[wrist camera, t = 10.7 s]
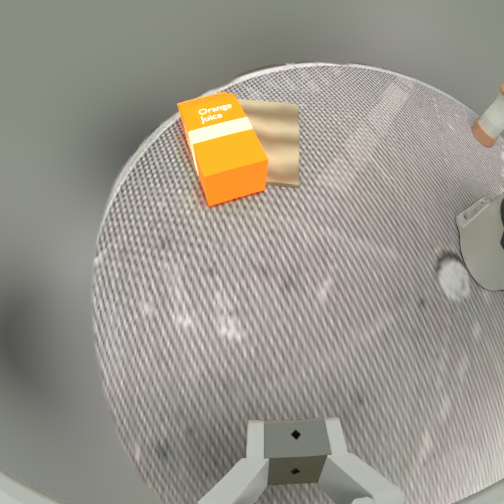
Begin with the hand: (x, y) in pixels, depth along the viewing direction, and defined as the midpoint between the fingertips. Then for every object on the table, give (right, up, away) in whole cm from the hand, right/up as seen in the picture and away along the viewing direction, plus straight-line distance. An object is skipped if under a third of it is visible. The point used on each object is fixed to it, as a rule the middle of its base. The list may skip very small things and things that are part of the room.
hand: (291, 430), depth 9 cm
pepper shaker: (+59, +36, +49) cm, 84 cm away
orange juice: (-3, +15, +32) cm, 36 cm away
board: (0, +26, +42) cm, 49 cm away
